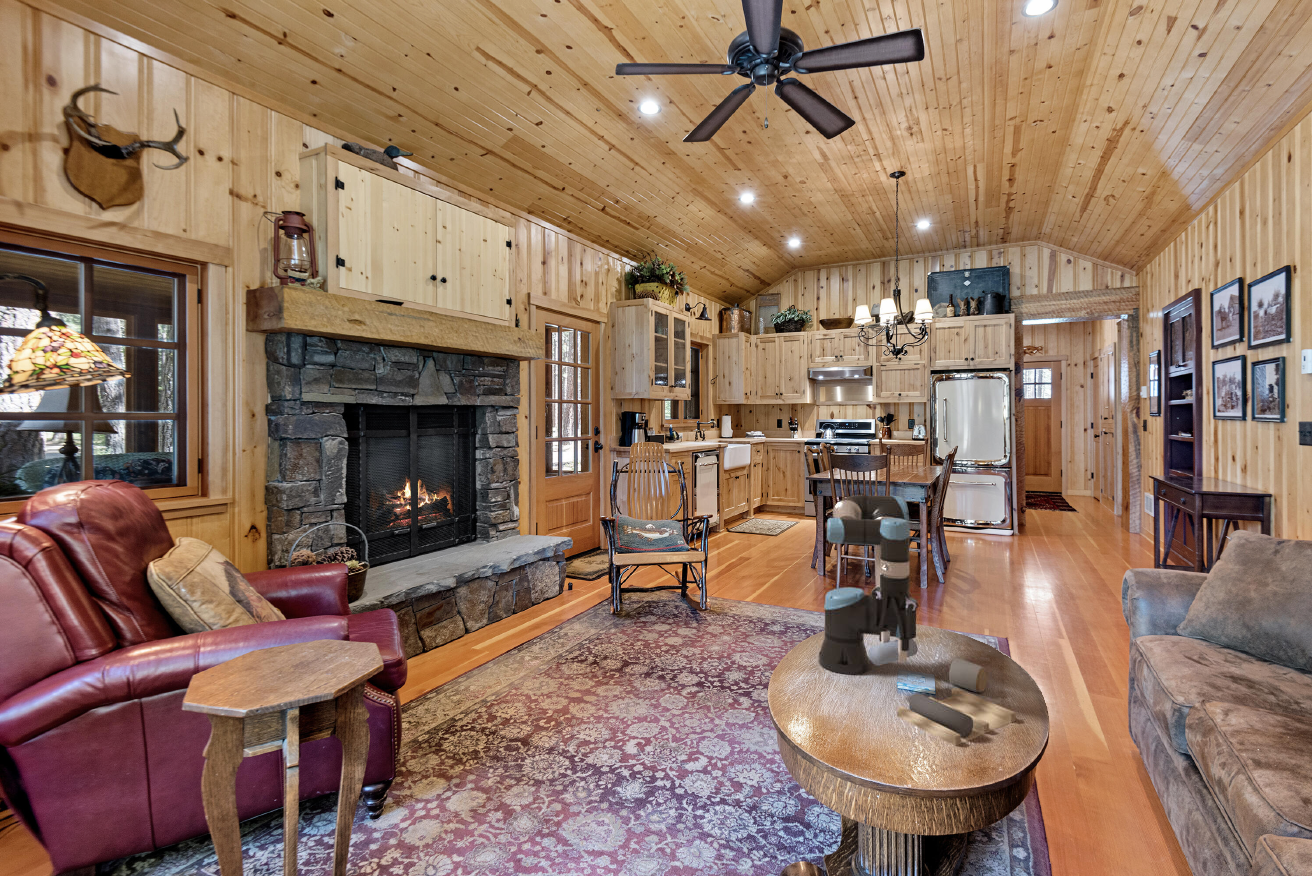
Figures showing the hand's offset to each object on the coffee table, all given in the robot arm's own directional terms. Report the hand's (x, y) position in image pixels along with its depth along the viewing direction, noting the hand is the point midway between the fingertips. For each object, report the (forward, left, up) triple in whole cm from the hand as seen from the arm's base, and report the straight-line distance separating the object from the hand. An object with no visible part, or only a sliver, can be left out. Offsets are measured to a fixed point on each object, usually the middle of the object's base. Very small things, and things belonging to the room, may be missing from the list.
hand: (893, 657), depth 165 cm
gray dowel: (0, 0, -1) cm, 1 cm away
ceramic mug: (+8, +22, -10) cm, 26 cm away
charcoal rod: (+18, -7, -9) cm, 21 cm away
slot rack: (+18, +1, -10) cm, 21 cm away
